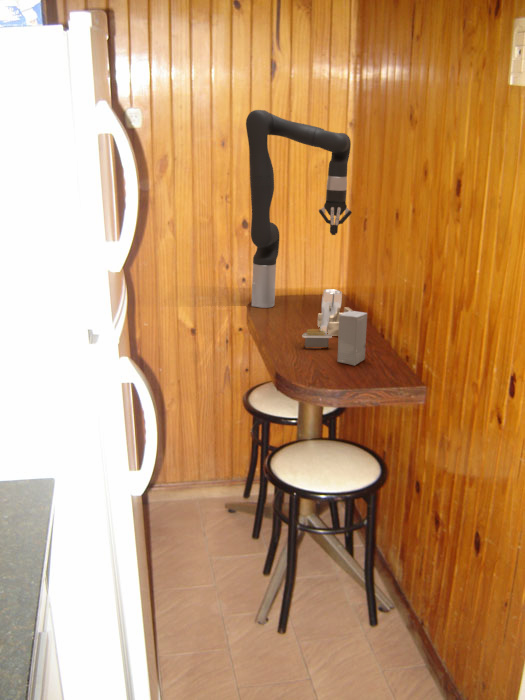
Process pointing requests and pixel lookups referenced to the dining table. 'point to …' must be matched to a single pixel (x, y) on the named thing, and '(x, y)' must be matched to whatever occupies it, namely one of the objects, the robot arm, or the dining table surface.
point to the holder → (332, 323)
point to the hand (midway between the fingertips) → (333, 234)
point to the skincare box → (352, 337)
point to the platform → (316, 338)
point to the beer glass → (330, 307)
